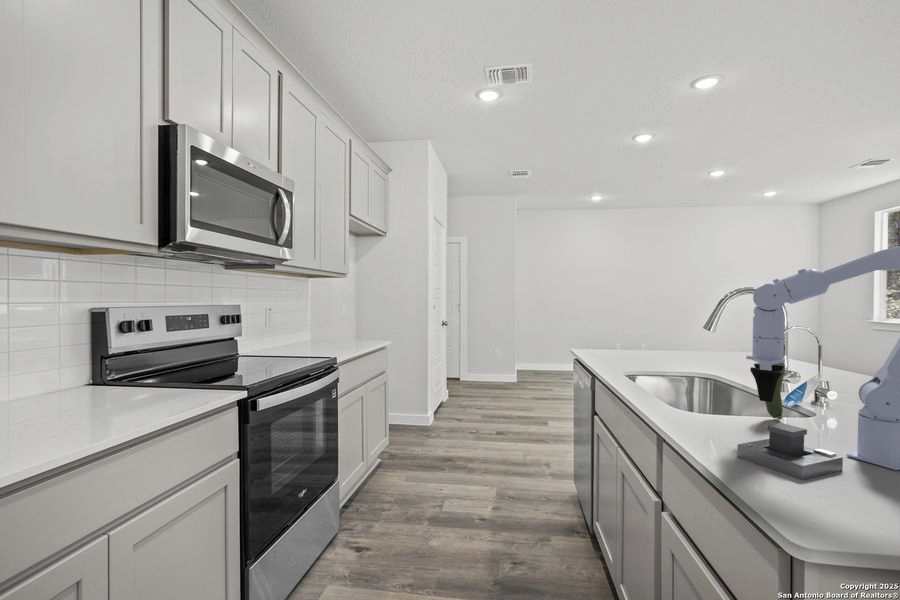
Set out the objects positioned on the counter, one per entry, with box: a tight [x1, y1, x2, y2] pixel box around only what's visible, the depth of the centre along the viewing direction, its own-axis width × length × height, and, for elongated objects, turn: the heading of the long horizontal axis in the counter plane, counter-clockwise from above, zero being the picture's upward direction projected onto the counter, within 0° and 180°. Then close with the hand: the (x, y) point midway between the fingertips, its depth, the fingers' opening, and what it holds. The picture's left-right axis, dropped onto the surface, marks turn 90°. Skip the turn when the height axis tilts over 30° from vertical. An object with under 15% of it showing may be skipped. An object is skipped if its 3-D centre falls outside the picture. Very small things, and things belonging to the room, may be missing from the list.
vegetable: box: [764, 362, 786, 420], centre depth 117 cm, size 4×4×20 cm
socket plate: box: [736, 438, 844, 481], centre depth 87 cm, size 12×12×3 cm
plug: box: [766, 422, 808, 458], centre depth 87 cm, size 5×5×7 cm
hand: (766, 397), depth 99 cm, fingers open, 7 cm apart
